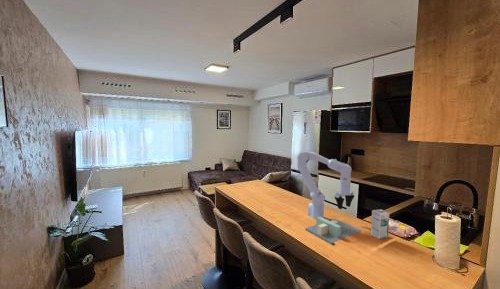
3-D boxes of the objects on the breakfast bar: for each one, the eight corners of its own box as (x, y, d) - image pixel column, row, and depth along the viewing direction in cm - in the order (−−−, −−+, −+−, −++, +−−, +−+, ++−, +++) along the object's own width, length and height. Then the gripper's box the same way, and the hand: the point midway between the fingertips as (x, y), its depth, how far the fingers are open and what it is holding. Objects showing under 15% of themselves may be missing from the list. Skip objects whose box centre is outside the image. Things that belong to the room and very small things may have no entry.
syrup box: (378, 241, 117) (381, 213, 116) (370, 235, 123) (372, 209, 122) (387, 239, 119) (390, 213, 117) (378, 234, 124) (380, 208, 123)
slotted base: (305, 229, 128) (305, 220, 127) (335, 220, 142) (335, 211, 141) (331, 244, 113) (332, 234, 112) (362, 232, 127) (363, 222, 126)
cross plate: (316, 226, 130) (316, 217, 129) (319, 225, 131) (320, 216, 131) (336, 237, 118) (337, 227, 117) (340, 236, 119) (341, 226, 119)
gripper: (343, 188, 127) (342, 212, 128) (358, 185, 134) (357, 207, 135) (332, 185, 132) (331, 208, 134) (348, 182, 140) (347, 203, 141)
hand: (344, 207), depth 135 cm, fingers open, 7 cm apart
